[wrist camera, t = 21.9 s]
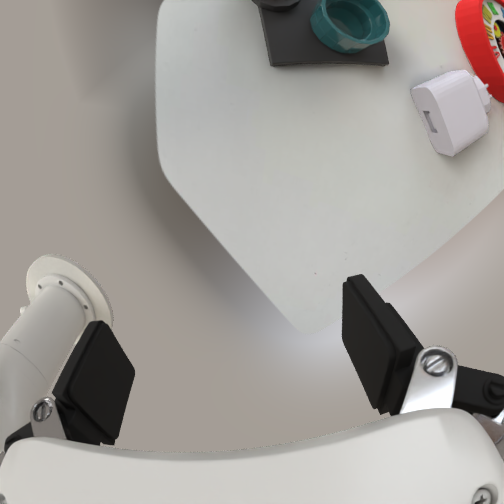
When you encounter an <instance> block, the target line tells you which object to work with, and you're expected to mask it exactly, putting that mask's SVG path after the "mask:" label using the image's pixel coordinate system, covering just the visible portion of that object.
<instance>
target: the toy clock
mask: <svg viewBox="0 0 504 504" xmlns="http://www.w3.org/2000/svg"><path fill="white" fill-rule="evenodd" d="M455 20H456V27H457V31H458V35H459V38H460V41H461V44H462V47H463V49H464V52H465V54H466V57H467V59H468V61H469V63H470V65H471V67H472V69H473V70H474V72H475V74H476V76H477V77H479V79H480V80H481V81H482V83H483V84H484V85H485V84H488V85H489V87H487V88H486V90H487V91H488V92H489V93H490V94H491V95H492V96H493V97H494V98H495V99H497V100H498V101H500V102H502V103H504V0H461V1H460V2H459V3H458V4H457V6H456V11H455Z"/></svg>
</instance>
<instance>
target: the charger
mask: <svg viewBox="0 0 504 504" xmlns="http://www.w3.org/2000/svg"><path fill="white" fill-rule="evenodd" d="M487 87H489V85H488V84H485V85H484V84H483V83H482V81H481V80H480V79H479V77H477V76H474V77H472V76H471V75H470V74H469V73H468V72H467V71H466V70H457V71H449V72H447V73H445V74H442V75H440V76H438V77H436V78H433V79H431V80H429V81H427V82H425V83H423V84H420V85H418V86H416V87H414V88H412V89H411V95H412V98H413V100H414V103H415V105H416V107H417V109H418V111H419V114H420V116H421V118H422V121H423V123H424V126H425V128H426V131H427V133H428V136H429V138H430V141H431V143H432V145H433V147H434V149H435V150H436V152H438V153H441V154H445V155H449V156H455V155H456V154H457V153H459V152H460V151H462V150H463V149H465V148H466V147H468V146H469V145H471V144H472V143H473V142H475V141H476V140H478V139H479V138H481V137H482V136H483V135H485V134H486V133H488V131H489V120H488V117H487V113H488V112H489V111H490V110H491V101H490V98H492V95H491V94H490V95H488V92H487V90H486V88H487Z"/></svg>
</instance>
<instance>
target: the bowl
mask: <svg viewBox="0 0 504 504" xmlns="http://www.w3.org/2000/svg"><path fill="white" fill-rule="evenodd" d="M310 22H311V26H312V30H313V32H314V33H315V34H316V36H317V37H318V39H319V40H320V41H321V42H323V43H324V44H325V45H327V46H328V47H329V48H331V49H334V50H336V51H339V52H341V53H357V52H360V51H363V50H365V49H367V48H369V47H371V46H373V45H375V44H377V43H379V42H381V41H383V39H384V38H385V37H386V36H387V35H388V33H389V27H390V22H389V18H388V15H387V12H386V11H385V9H384V8H383V6H382V5H381V4H380V2H379V1H378V0H319V2H318V3H317V4H316V6H315V7H314V9H313V10H312V13H311V17H310Z"/></svg>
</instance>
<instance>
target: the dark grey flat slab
mask: <svg viewBox="0 0 504 504" xmlns="http://www.w3.org/2000/svg"><path fill="white" fill-rule="evenodd" d="M252 1H253V2H254V3H255V4H256V5H257V6H258V8H259V13H260V17H261V22H262V26H263V31H264V36H265V41H266V46H267V51H268V56H269V61H270V66H281V65H295V64H322V63H337V64H364V65H378V66H385V65H388V64H389V61H388V56H387V52H386V47H385V43H384V39H383V41H381V42H379V43H377V44H375V45H373V46H371V47H369V48H367V49H365V50H363V51H360V52H357V53H341V52H339V51H336V50H334V49H331V48H329V47H328V46H327V45H325V44H324V43H323V42H321V41H320V40H319V39H318V37H317V36H316V34H315V33H314V32H313V30H312V26H311V22H310V17H311V13H312V10H313V9H314V7H315V6H316V4H317V3H318V2H319V0H252Z"/></svg>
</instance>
